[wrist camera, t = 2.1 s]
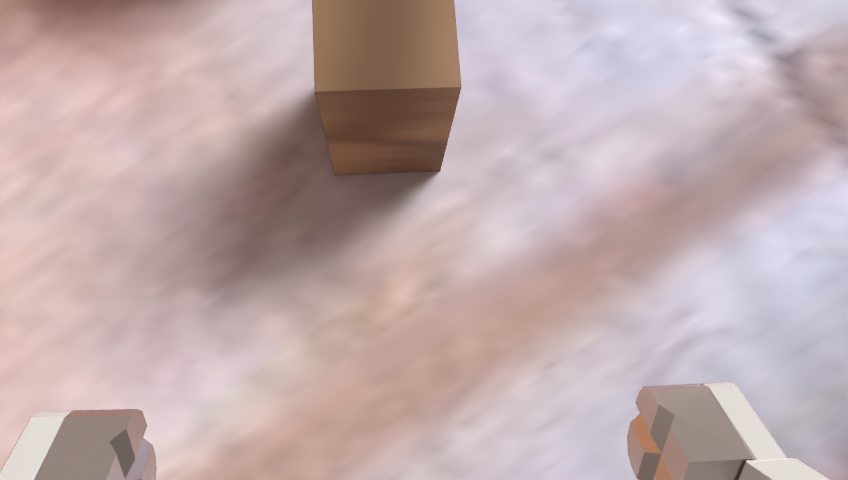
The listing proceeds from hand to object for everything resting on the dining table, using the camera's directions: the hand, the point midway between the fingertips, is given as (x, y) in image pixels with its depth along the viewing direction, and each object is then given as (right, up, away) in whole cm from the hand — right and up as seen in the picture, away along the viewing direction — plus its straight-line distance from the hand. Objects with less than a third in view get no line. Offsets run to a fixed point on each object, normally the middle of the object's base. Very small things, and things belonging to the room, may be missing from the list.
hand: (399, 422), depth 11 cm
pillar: (-1, +8, +18) cm, 19 cm away
